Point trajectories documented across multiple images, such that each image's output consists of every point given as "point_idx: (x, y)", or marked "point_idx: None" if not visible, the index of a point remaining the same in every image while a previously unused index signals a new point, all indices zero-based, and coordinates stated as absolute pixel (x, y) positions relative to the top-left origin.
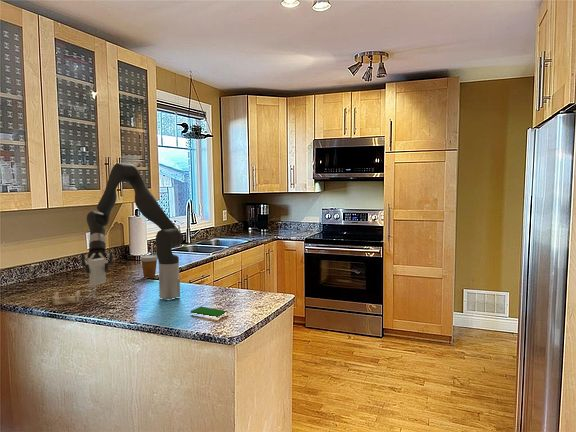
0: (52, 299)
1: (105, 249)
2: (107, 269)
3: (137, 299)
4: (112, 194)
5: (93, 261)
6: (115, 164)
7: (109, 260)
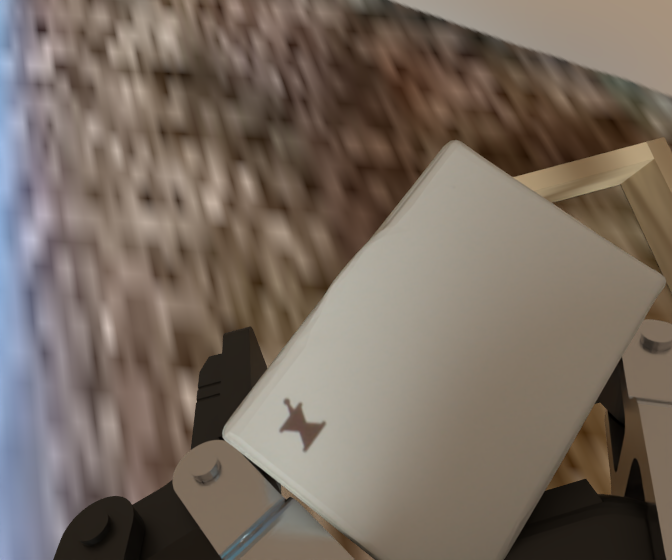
0: (657, 141)
1: None
2: (211, 358)
3: (21, 259)
4: None
5: (446, 145)
6: None
7: (125, 538)
